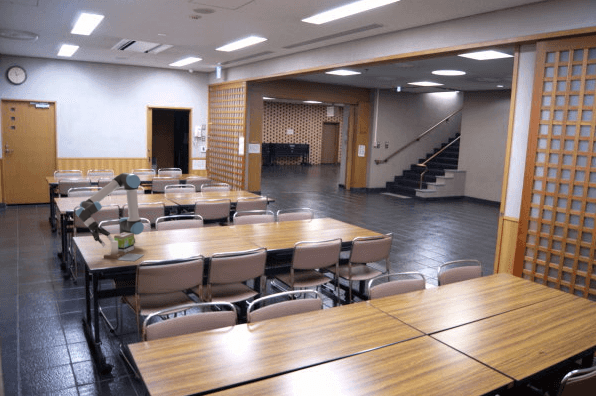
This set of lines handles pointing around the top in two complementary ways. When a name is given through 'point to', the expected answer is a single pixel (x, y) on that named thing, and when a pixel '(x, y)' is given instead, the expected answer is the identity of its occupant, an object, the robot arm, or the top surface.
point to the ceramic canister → (114, 247)
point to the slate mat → (130, 257)
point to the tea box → (125, 241)
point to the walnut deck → (114, 255)
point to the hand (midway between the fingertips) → (109, 243)
